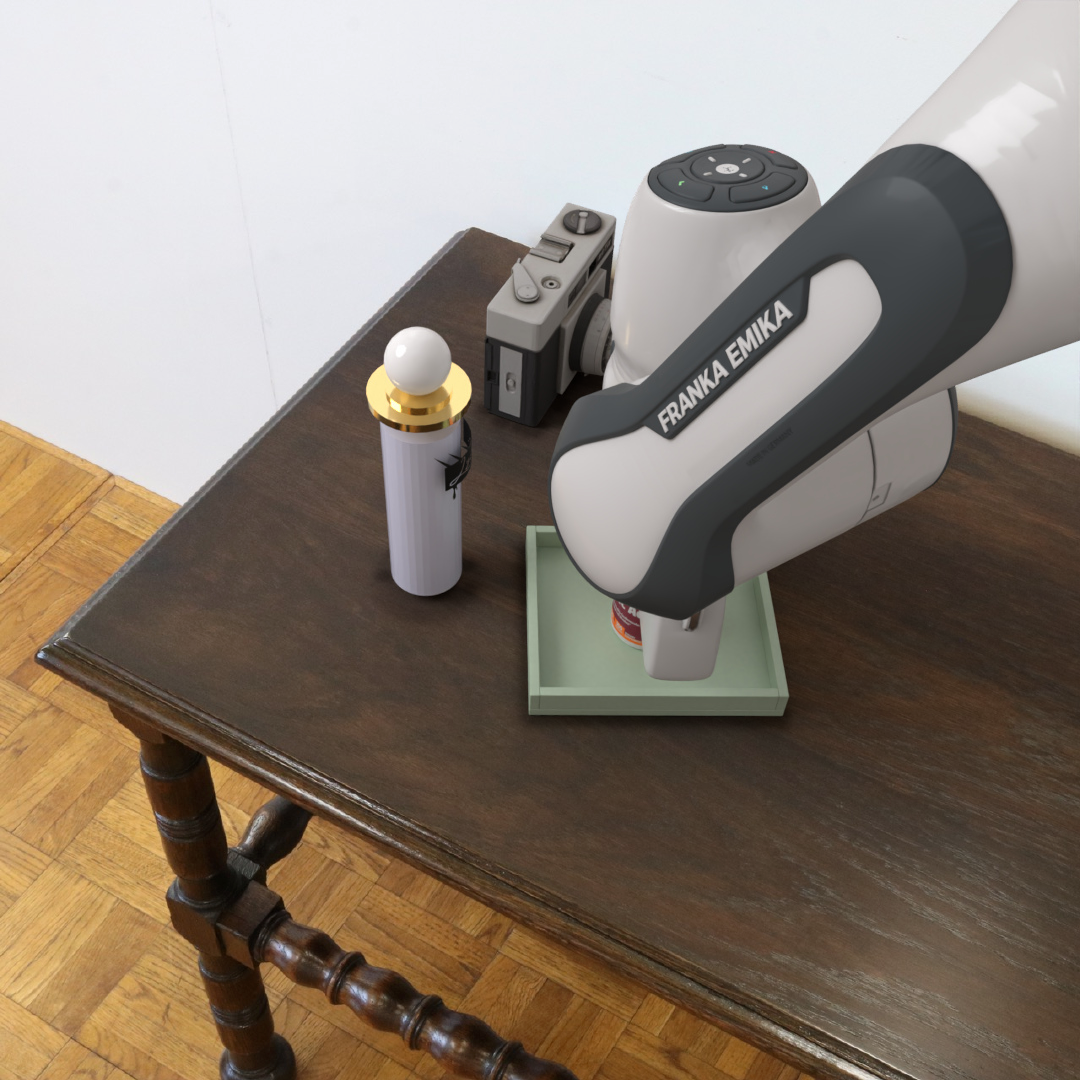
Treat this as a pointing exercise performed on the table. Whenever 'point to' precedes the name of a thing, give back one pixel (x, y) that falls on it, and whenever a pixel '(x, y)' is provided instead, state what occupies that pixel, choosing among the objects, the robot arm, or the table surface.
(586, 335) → the camera
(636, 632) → the pill bottle
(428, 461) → the perfume bottle
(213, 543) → the table surface
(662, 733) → the table surface
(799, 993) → the table surface
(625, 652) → the tray
